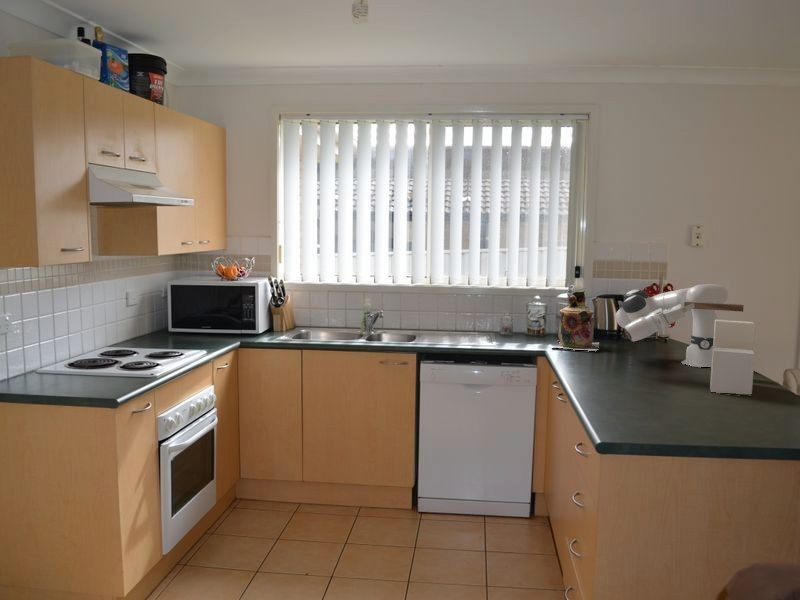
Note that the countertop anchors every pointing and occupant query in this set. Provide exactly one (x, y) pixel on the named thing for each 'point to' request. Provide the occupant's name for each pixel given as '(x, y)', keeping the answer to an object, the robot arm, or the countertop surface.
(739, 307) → the bar
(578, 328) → the cookie jar
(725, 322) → the tall stand
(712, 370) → the low stand
